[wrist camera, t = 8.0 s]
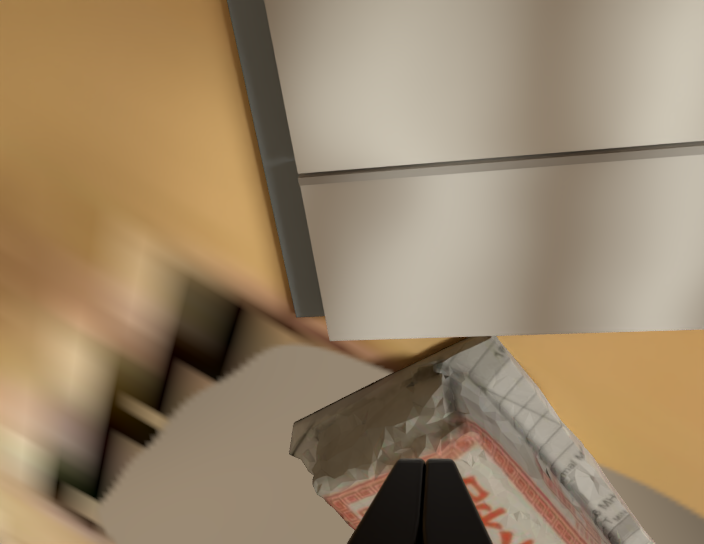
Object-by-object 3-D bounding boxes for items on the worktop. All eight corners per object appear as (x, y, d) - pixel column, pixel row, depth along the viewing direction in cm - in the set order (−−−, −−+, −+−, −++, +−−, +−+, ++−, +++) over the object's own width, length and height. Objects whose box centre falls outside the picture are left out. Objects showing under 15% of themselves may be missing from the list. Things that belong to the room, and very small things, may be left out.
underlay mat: (1216, -692, 10) (1235, -707, 10) (881, 289, 20) (887, 294, 19) (142, -405, 14) (136, -411, 13) (297, 312, 23) (296, 317, 23)
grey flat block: (888, 108, 17) (927, 127, 15) (833, 296, 20) (861, 326, 18) (307, 158, 20) (297, 178, 18) (336, 315, 23) (329, 342, 21)
